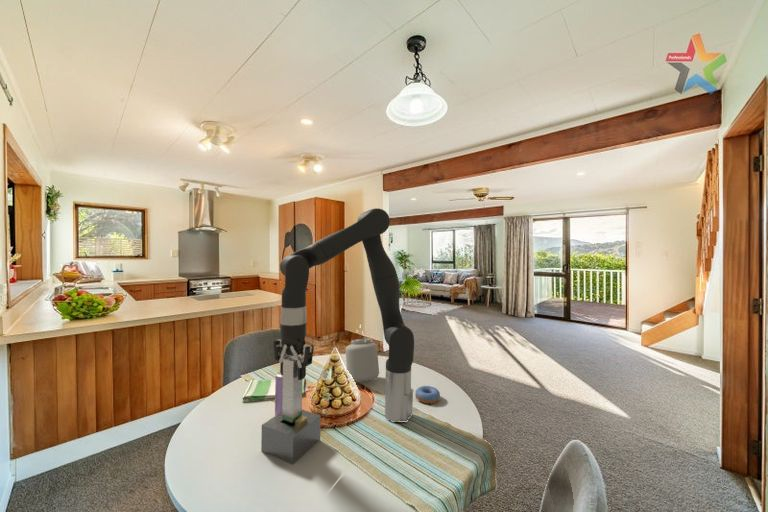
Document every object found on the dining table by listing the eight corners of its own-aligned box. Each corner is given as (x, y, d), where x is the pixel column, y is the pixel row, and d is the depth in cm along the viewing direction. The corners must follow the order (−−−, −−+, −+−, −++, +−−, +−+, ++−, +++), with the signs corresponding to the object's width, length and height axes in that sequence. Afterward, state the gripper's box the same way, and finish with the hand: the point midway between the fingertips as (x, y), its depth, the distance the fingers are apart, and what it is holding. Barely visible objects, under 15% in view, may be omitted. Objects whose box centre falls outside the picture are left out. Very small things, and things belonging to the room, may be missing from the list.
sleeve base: (320, 440, 92) (320, 411, 91) (292, 465, 81) (293, 432, 81) (290, 430, 97) (291, 402, 97) (261, 452, 86) (261, 420, 86)
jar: (338, 374, 142) (339, 323, 142) (366, 369, 150) (366, 320, 149) (355, 390, 126) (356, 332, 126) (384, 383, 133) (385, 328, 133)
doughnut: (444, 402, 116) (443, 390, 116) (421, 407, 113) (420, 395, 114) (433, 393, 126) (432, 382, 126) (412, 398, 123) (411, 386, 123)
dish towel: (304, 398, 119) (304, 391, 119) (241, 404, 114) (241, 397, 114) (304, 379, 137) (304, 374, 137) (250, 384, 131) (250, 378, 131)
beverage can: (286, 420, 102) (287, 377, 102) (271, 418, 104) (272, 375, 104) (295, 411, 108) (296, 370, 108) (280, 409, 110) (281, 369, 109)
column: (301, 416, 90) (302, 357, 90) (292, 422, 86) (293, 361, 86) (291, 412, 91) (292, 354, 91) (282, 419, 88) (283, 358, 88)
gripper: (320, 321, 89) (319, 377, 89) (284, 316, 95) (284, 368, 95) (303, 326, 82) (302, 386, 82) (266, 321, 88) (265, 376, 88)
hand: (292, 376), depth 89 cm, fingers open, 6 cm apart
